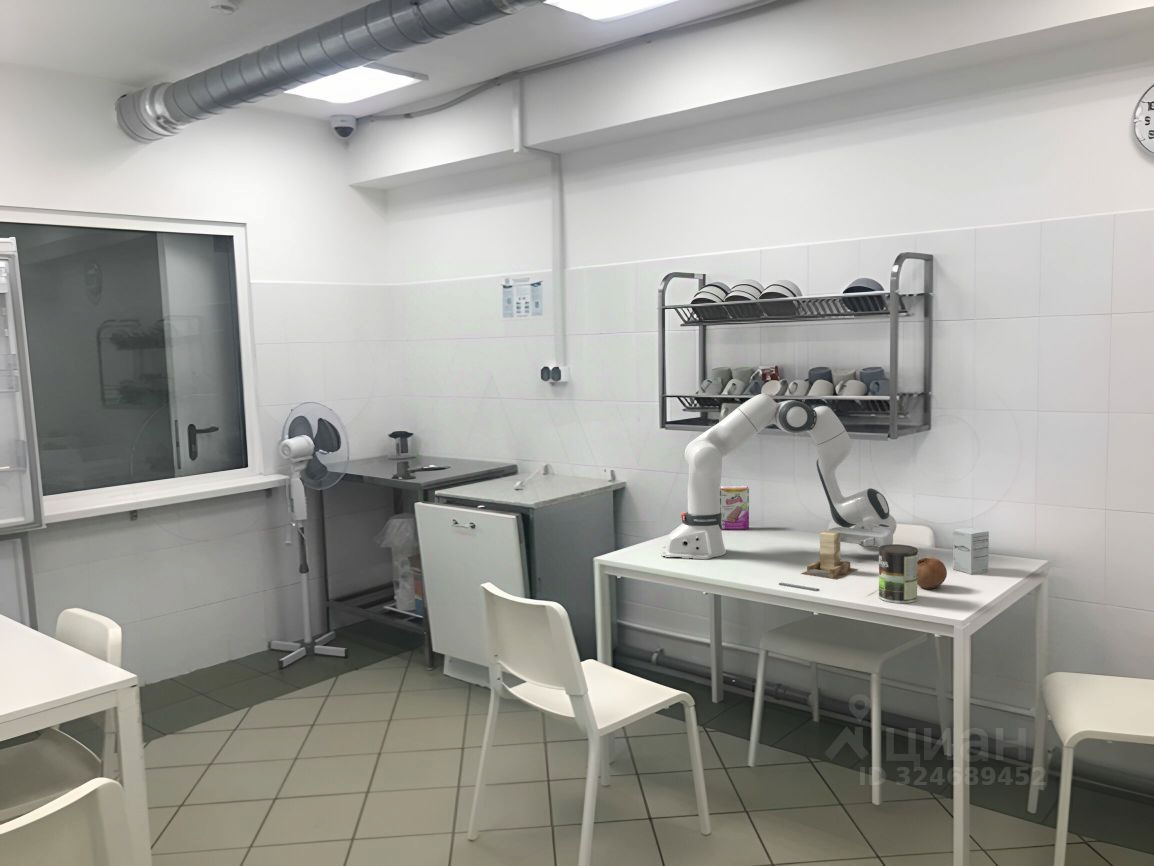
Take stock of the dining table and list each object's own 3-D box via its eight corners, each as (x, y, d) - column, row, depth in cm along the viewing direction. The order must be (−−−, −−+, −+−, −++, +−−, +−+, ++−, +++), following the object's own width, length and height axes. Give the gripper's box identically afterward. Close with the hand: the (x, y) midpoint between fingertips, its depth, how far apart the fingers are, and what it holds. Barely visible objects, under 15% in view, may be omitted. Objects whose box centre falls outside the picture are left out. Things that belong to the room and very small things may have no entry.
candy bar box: (720, 530, 346) (719, 488, 344) (719, 527, 351) (718, 486, 349) (749, 530, 345) (749, 487, 343) (748, 527, 350) (747, 485, 348)
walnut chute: (836, 581, 268) (836, 571, 268) (800, 575, 276) (800, 565, 276) (858, 570, 279) (858, 561, 279) (823, 565, 287) (823, 556, 287)
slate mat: (816, 590, 259) (816, 589, 259) (779, 584, 267) (778, 583, 267) (835, 581, 268) (835, 580, 268) (798, 576, 276) (798, 574, 276)
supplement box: (952, 569, 277) (952, 529, 276) (970, 566, 280) (970, 526, 279) (971, 574, 270) (971, 533, 269) (989, 571, 273) (989, 530, 272)
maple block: (833, 573, 275) (833, 535, 274) (820, 571, 278) (819, 533, 277) (840, 570, 278) (840, 532, 277) (827, 568, 281) (826, 530, 280)
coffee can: (885, 604, 244) (885, 553, 242) (873, 593, 254) (873, 544, 253) (923, 603, 244) (923, 552, 242) (910, 592, 254) (910, 543, 252)
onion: (920, 600, 256) (908, 571, 254) (916, 583, 265) (904, 555, 262) (954, 590, 253) (942, 561, 251) (949, 573, 262) (936, 544, 259)
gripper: (837, 520, 303) (818, 528, 293) (897, 527, 290) (879, 535, 279) (837, 539, 304) (818, 547, 294) (897, 546, 290) (879, 555, 280)
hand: (848, 541), depth 286 cm, fingers open, 8 cm apart
